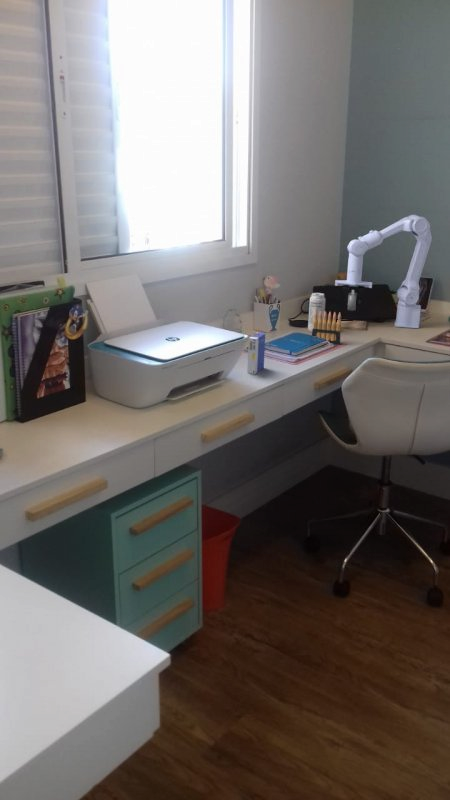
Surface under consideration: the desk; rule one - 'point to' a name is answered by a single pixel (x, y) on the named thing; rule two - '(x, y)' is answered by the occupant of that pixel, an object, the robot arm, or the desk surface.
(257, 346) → the purple white carton box
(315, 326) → the ammunition clip
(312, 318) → the energy drink can
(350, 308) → the connector
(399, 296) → the robot arm
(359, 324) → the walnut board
